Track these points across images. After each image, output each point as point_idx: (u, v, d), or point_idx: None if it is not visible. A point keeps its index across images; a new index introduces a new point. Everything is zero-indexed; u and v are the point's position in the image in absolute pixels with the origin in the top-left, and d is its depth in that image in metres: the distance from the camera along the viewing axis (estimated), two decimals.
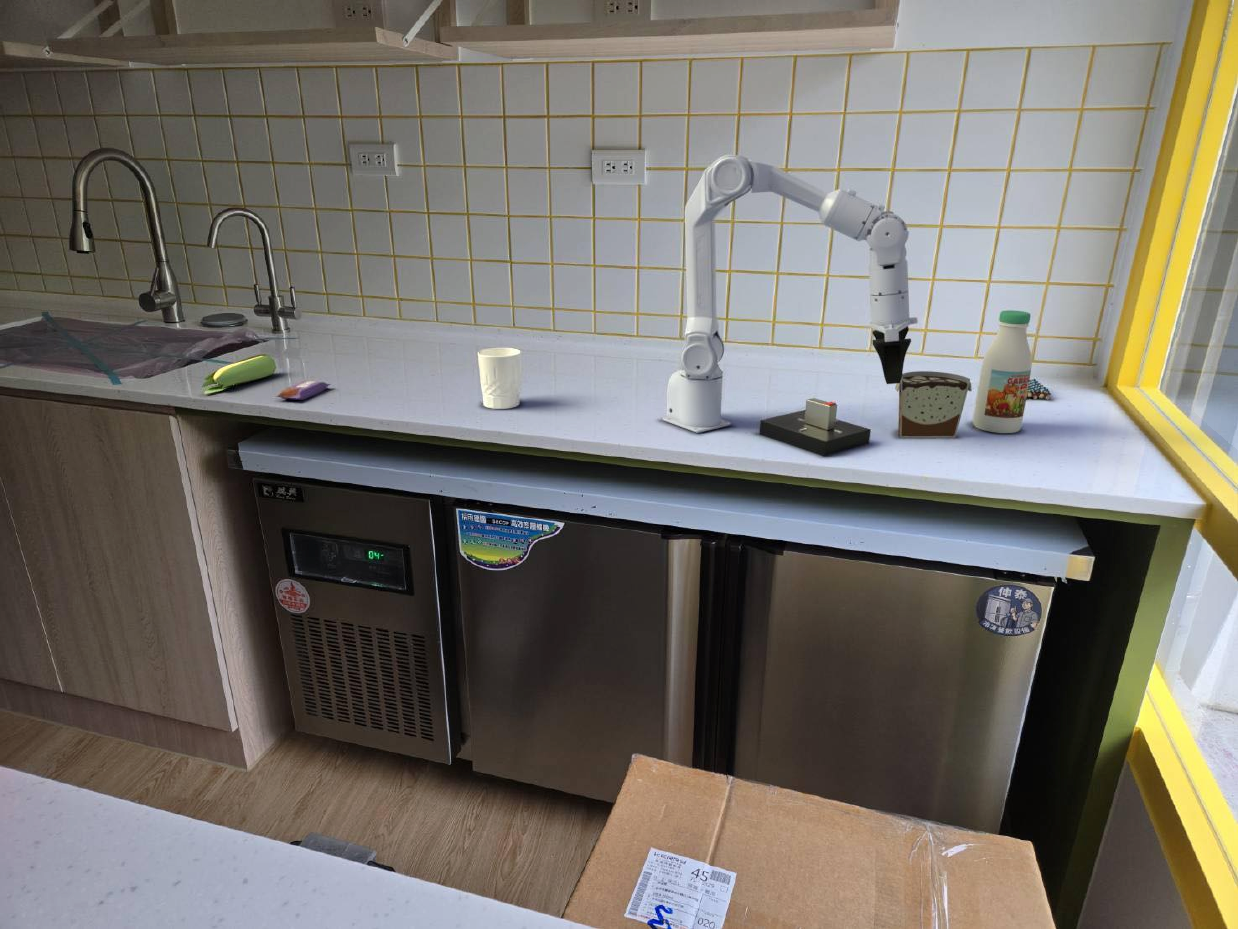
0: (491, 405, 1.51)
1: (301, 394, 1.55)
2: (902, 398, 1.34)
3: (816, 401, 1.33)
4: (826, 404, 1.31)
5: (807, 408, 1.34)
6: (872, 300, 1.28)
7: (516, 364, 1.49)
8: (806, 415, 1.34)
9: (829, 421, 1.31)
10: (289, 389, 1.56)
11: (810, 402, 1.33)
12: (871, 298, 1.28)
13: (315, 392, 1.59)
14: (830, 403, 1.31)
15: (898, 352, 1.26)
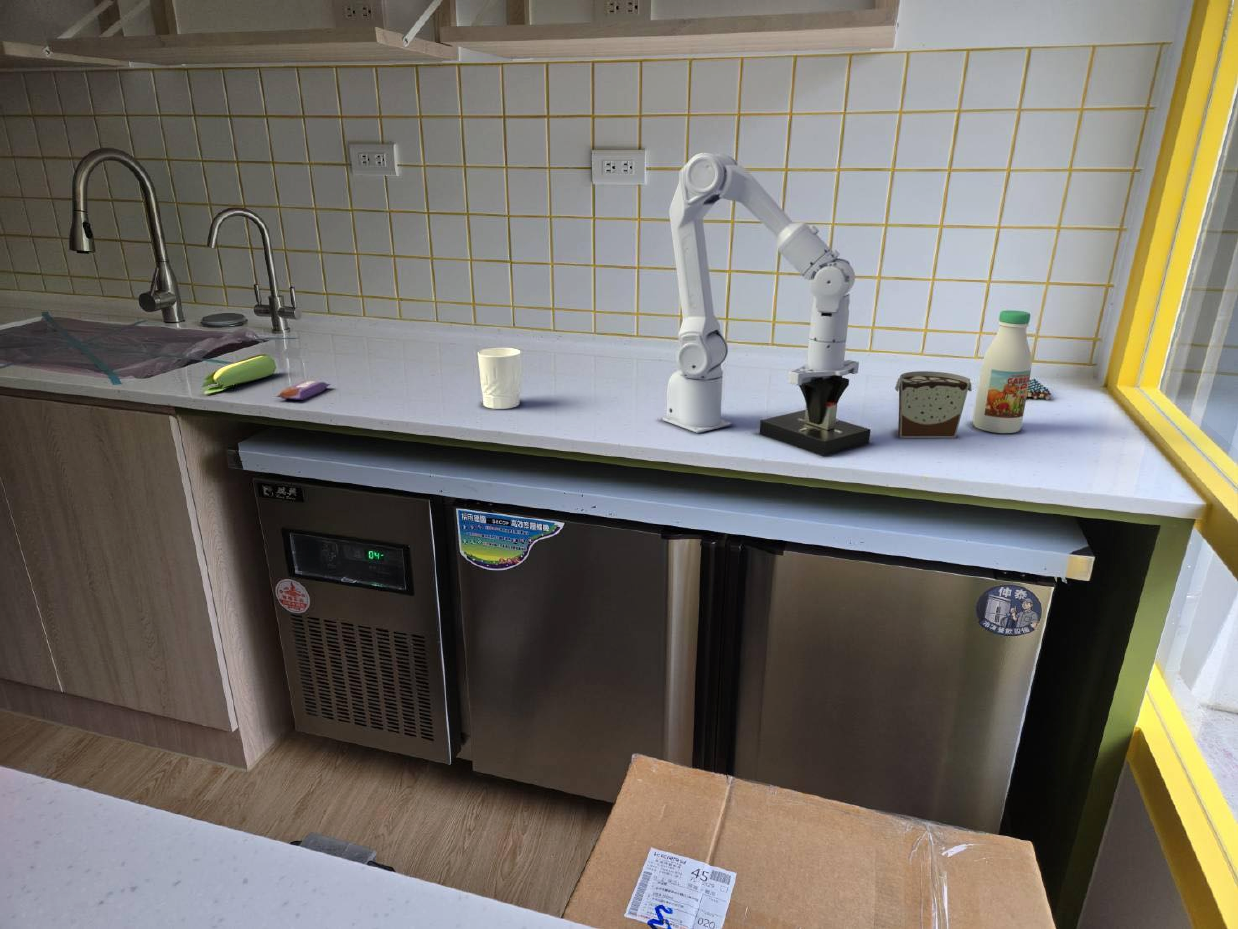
0: (491, 405, 1.51)
1: (301, 394, 1.55)
2: (902, 398, 1.34)
3: None
4: (826, 404, 1.31)
5: None
6: None
7: (516, 364, 1.49)
8: (806, 415, 1.34)
9: (829, 421, 1.31)
10: (289, 389, 1.56)
11: None
12: None
13: (315, 392, 1.59)
14: (830, 403, 1.31)
15: None
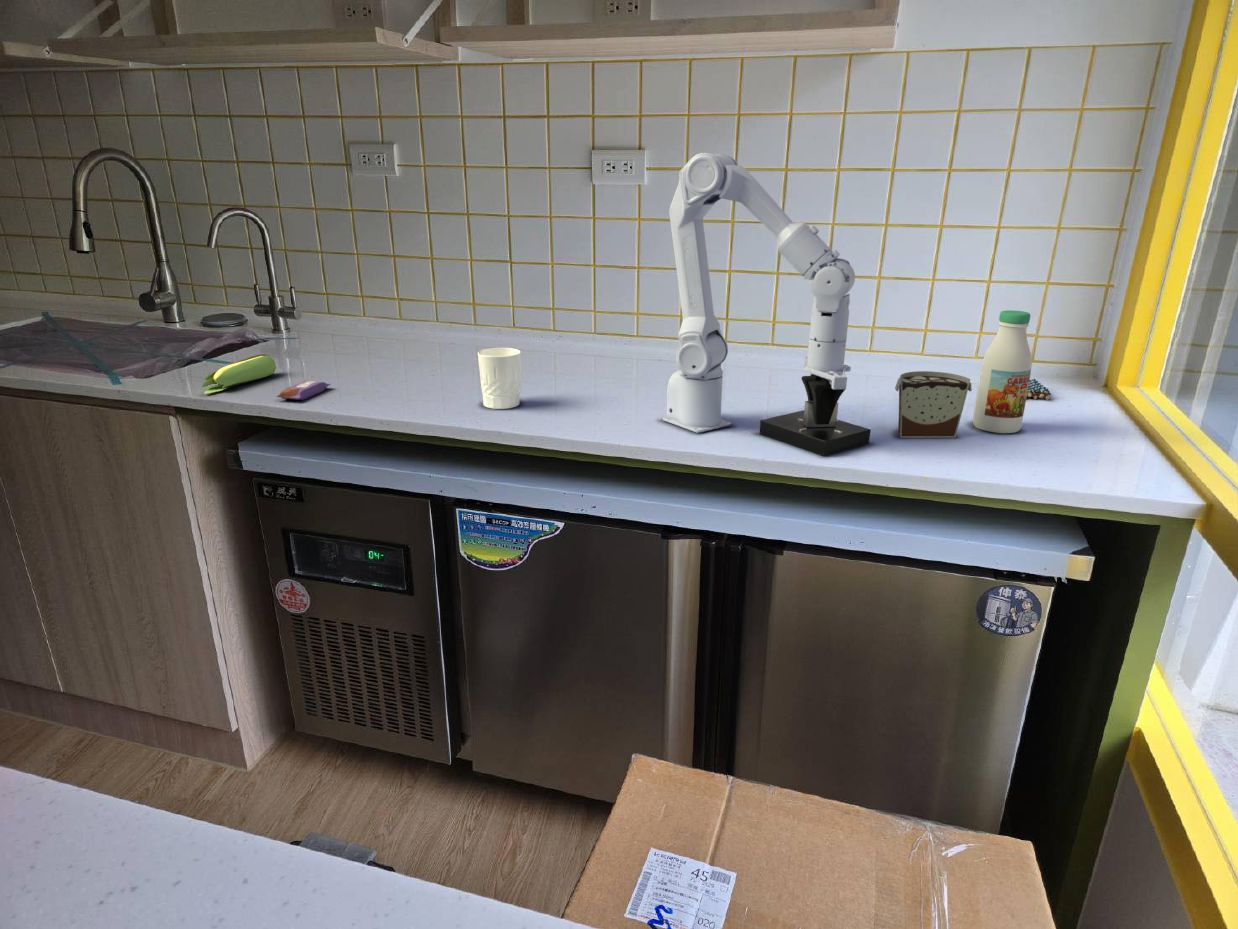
0: (491, 405, 1.51)
1: (301, 394, 1.55)
2: (902, 398, 1.34)
3: None
4: None
5: (810, 412, 1.32)
6: (814, 345, 1.28)
7: (516, 364, 1.49)
8: (809, 419, 1.32)
9: (836, 418, 1.33)
10: (289, 389, 1.56)
11: (813, 405, 1.31)
12: (812, 343, 1.28)
13: (315, 392, 1.59)
14: None
15: (831, 395, 1.30)
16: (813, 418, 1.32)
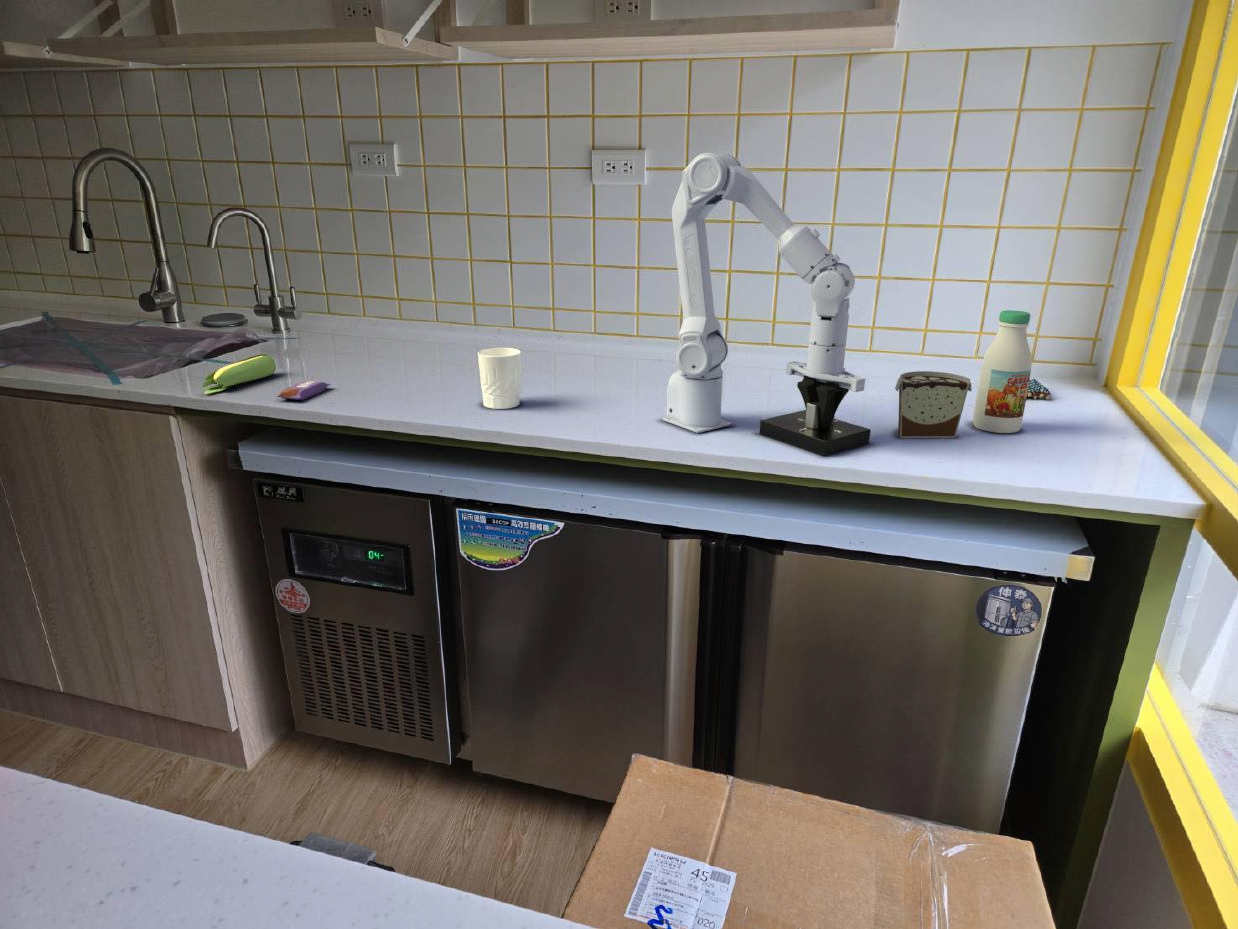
0: (491, 405, 1.51)
1: (301, 394, 1.55)
2: (902, 398, 1.34)
3: None
4: None
5: (816, 413, 1.31)
6: (822, 350, 1.27)
7: (516, 364, 1.49)
8: (815, 421, 1.31)
9: None
10: (289, 389, 1.56)
11: (818, 406, 1.31)
12: (820, 348, 1.27)
13: (315, 392, 1.59)
14: None
15: (834, 397, 1.31)
16: (818, 419, 1.32)
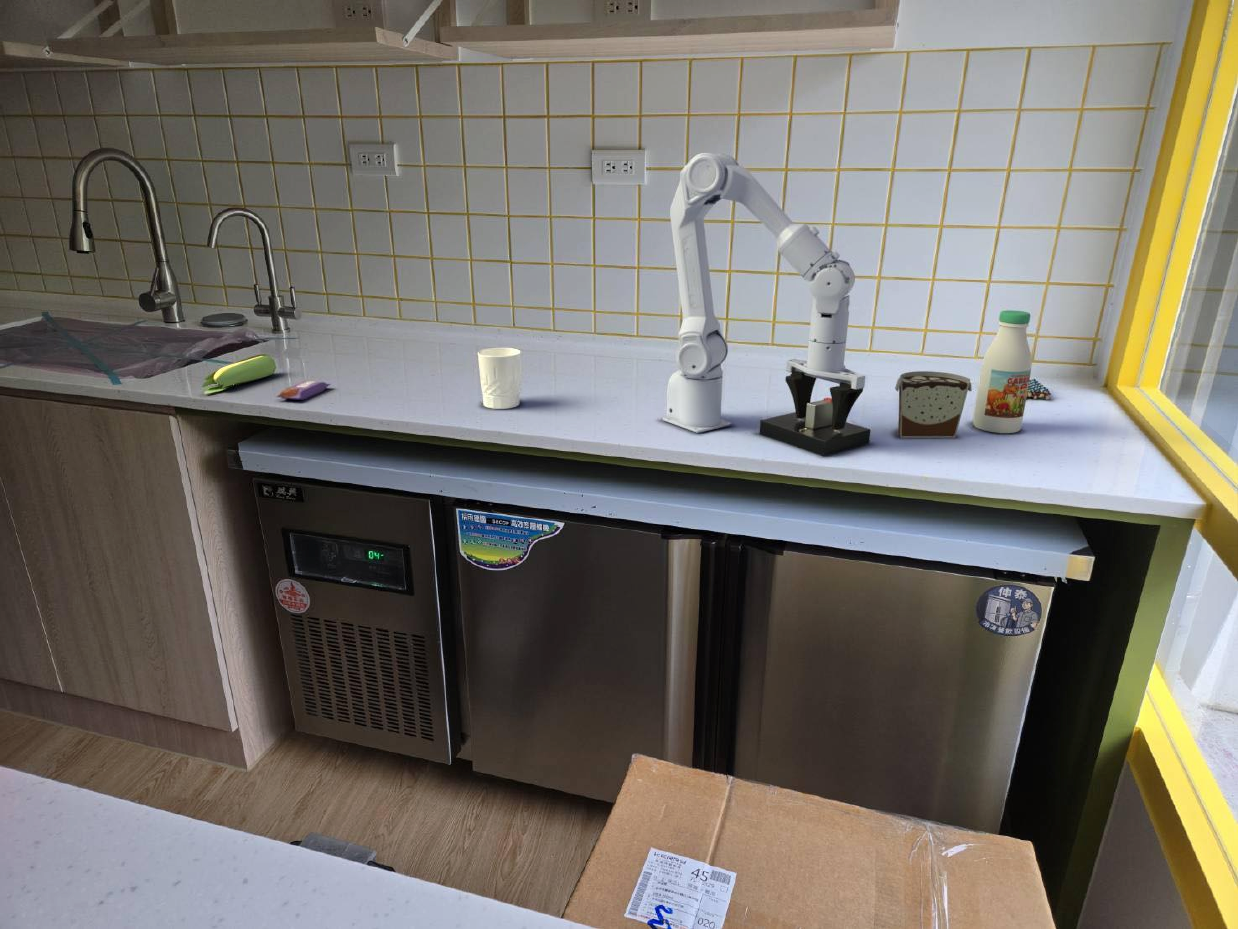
0: (491, 405, 1.51)
1: (301, 394, 1.55)
2: (902, 398, 1.34)
3: (820, 403, 1.32)
4: None
5: (816, 413, 1.31)
6: (822, 348, 1.27)
7: (516, 364, 1.49)
8: (815, 421, 1.31)
9: None
10: (289, 389, 1.56)
11: (818, 406, 1.31)
12: (820, 346, 1.27)
13: (315, 392, 1.59)
14: (830, 399, 1.33)
15: (847, 398, 1.29)
16: (818, 419, 1.32)
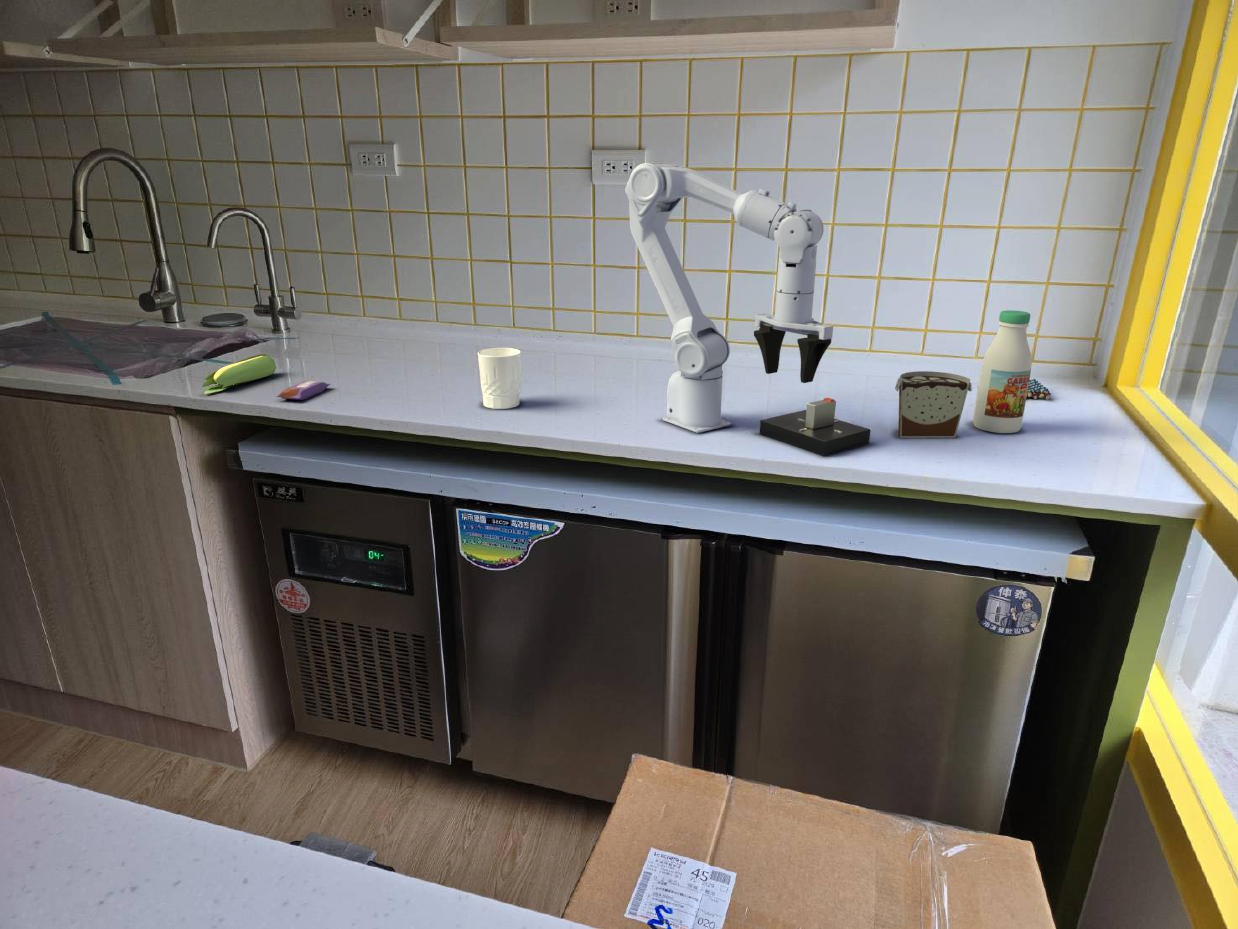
0: (491, 405, 1.51)
1: (301, 394, 1.55)
2: (902, 398, 1.34)
3: (820, 403, 1.32)
4: (832, 401, 1.33)
5: (816, 413, 1.31)
6: (789, 299, 1.25)
7: (516, 364, 1.49)
8: (815, 421, 1.31)
9: None
10: (289, 389, 1.56)
11: (818, 406, 1.31)
12: (787, 296, 1.25)
13: (315, 392, 1.59)
14: (830, 399, 1.33)
15: (816, 350, 1.27)
16: (818, 419, 1.32)
